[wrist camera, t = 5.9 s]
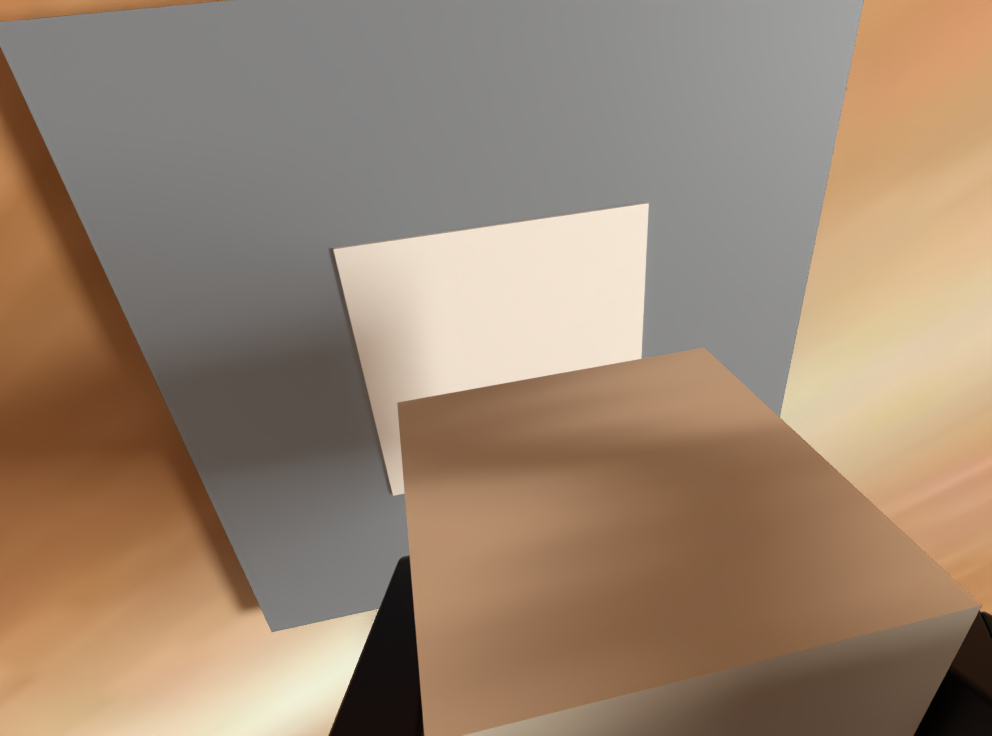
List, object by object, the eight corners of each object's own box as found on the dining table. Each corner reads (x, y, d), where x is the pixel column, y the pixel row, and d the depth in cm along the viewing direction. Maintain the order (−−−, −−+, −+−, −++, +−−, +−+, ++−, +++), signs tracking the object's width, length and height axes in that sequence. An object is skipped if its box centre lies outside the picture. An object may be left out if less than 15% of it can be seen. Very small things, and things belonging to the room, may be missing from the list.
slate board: (276, 604, 18) (271, 634, 18) (20, 23, 10) (-15, 22, 9) (741, 504, 20) (759, 527, 19) (840, -55, 12) (879, -62, 11)
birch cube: (442, 612, 11) (486, 958, 7) (396, 402, 9) (424, 744, 5) (680, 559, 12) (854, 847, 8) (703, 347, 9) (982, 604, 5)
